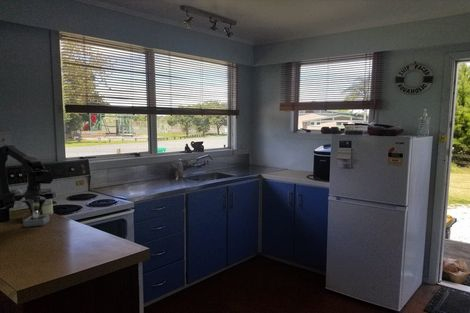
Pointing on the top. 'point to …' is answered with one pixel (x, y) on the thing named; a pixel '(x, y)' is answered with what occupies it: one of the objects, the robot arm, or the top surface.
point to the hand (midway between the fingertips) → (36, 212)
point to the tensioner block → (28, 215)
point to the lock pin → (35, 215)
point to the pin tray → (36, 221)
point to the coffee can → (47, 205)
